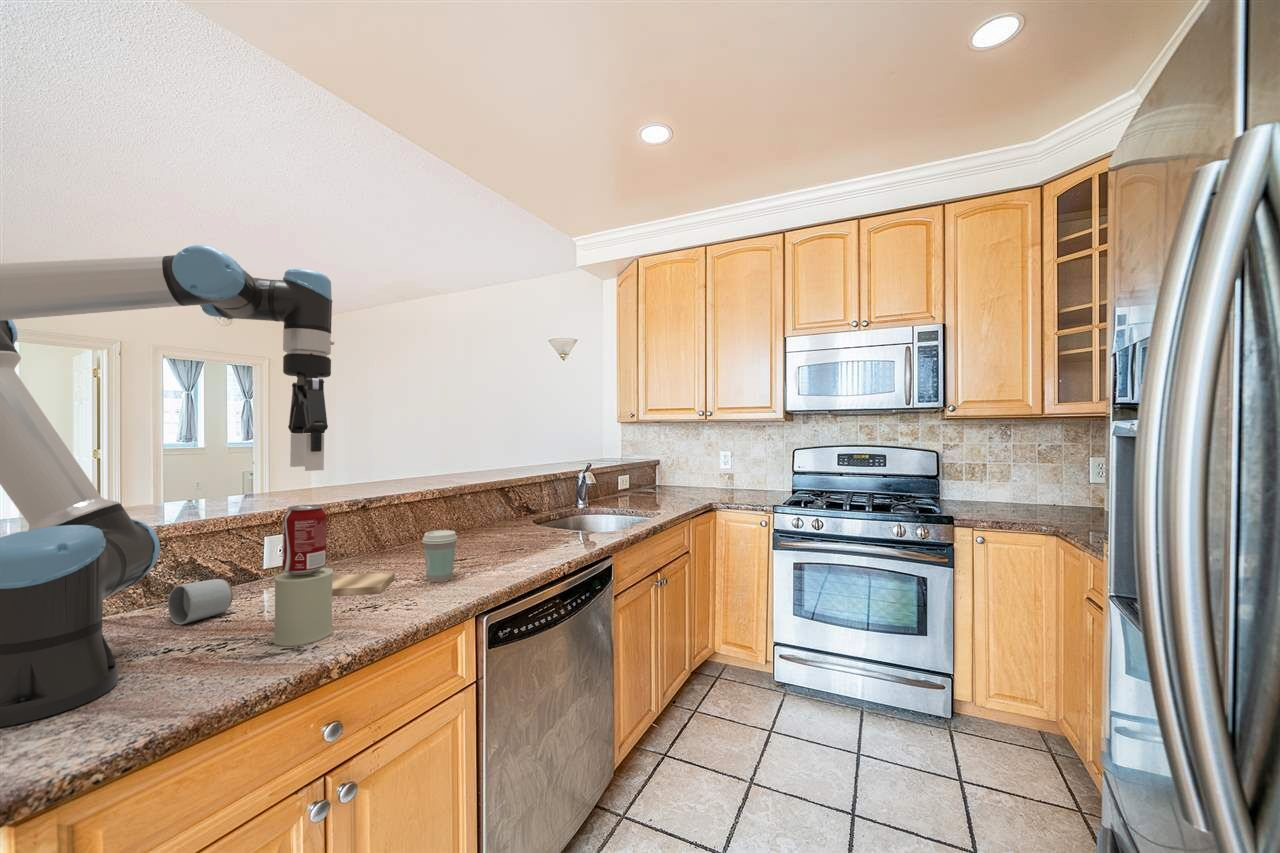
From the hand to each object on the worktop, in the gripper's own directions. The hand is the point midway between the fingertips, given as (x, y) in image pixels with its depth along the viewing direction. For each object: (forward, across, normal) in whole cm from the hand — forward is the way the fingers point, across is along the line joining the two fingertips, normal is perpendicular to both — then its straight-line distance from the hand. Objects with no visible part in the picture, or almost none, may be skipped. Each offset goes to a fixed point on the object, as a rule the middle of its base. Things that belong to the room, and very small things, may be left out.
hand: (306, 468), depth 95 cm
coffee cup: (+31, +19, -33) cm, 49 cm away
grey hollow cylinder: (+31, +25, +14) cm, 43 cm away
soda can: (+19, -1, 0) cm, 19 cm away
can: (+31, 0, 0) cm, 31 cm away
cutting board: (+31, +26, -15) cm, 43 cm away
